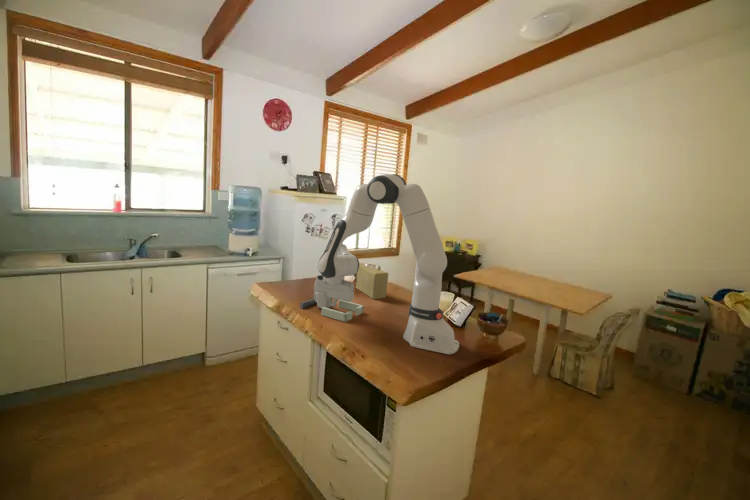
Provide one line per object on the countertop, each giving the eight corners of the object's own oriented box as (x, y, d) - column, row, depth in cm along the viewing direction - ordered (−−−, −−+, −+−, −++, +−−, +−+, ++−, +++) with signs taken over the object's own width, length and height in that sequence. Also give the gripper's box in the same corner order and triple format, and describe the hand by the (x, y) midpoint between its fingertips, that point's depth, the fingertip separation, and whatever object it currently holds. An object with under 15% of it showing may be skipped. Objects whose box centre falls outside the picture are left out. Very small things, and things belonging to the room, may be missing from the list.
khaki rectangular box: (349, 288, 206) (352, 264, 204) (362, 287, 212) (365, 263, 210) (372, 299, 189) (375, 273, 187) (386, 298, 195) (389, 272, 193)
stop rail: (319, 301, 175) (320, 297, 175) (302, 308, 163) (303, 303, 163) (317, 301, 176) (317, 296, 176) (300, 307, 164) (300, 302, 163)
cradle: (363, 312, 167) (363, 305, 166) (345, 322, 152) (346, 314, 151) (339, 306, 172) (340, 299, 171) (320, 314, 157) (321, 307, 157)
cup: (308, 307, 167) (307, 291, 167) (320, 304, 174) (320, 288, 173) (324, 310, 161) (323, 293, 160) (336, 306, 167) (335, 290, 166)
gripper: (357, 281, 160) (354, 309, 162) (320, 273, 169) (318, 300, 171) (350, 283, 155) (347, 313, 157) (313, 274, 163) (310, 303, 165)
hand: (332, 306), depth 164 cm, fingers closed
